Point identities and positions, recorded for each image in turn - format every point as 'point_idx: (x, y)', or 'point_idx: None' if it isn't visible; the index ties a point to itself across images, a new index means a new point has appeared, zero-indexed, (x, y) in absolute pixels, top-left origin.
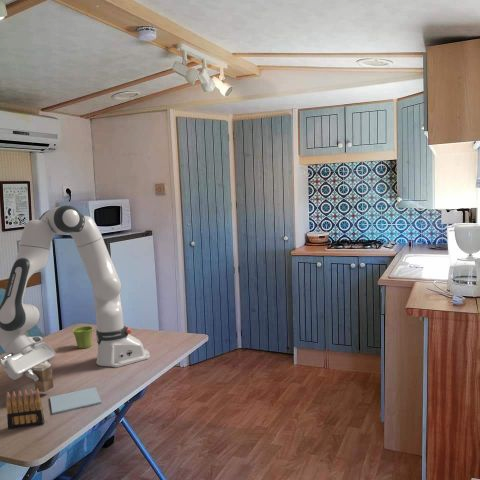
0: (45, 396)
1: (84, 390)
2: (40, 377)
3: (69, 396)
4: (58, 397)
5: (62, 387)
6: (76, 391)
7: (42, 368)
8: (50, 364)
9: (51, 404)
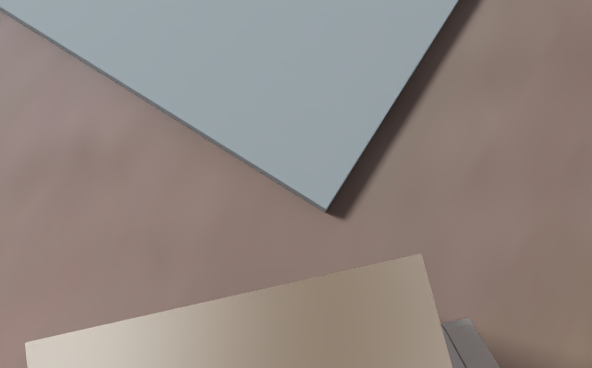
0: None
1: (46, 8)
2: None
3: (218, 29)
4: (288, 111)
5: None
6: (98, 62)
7: (392, 261)
8: (45, 338)
9: (429, 36)
